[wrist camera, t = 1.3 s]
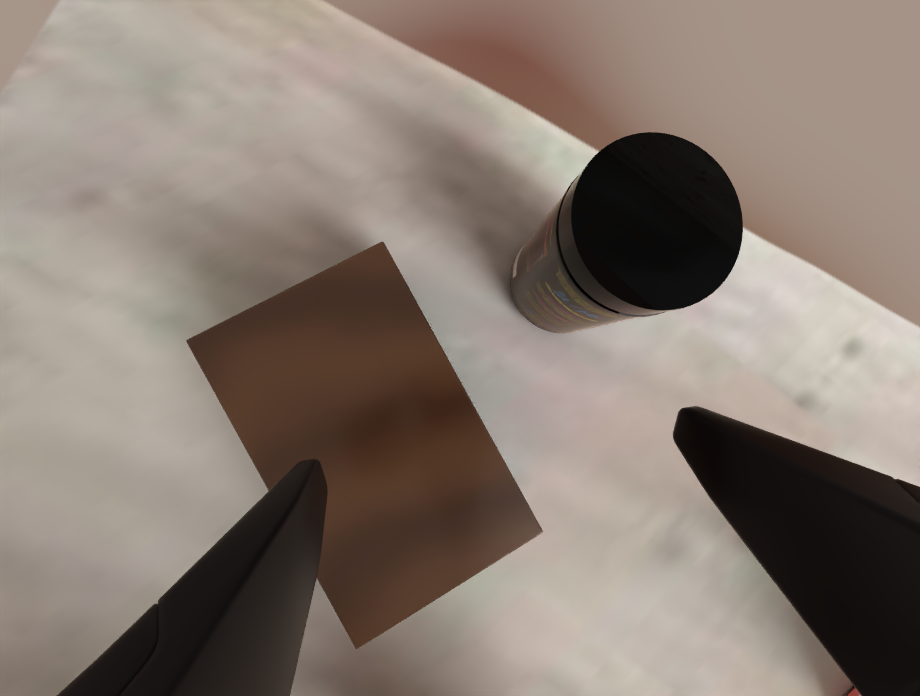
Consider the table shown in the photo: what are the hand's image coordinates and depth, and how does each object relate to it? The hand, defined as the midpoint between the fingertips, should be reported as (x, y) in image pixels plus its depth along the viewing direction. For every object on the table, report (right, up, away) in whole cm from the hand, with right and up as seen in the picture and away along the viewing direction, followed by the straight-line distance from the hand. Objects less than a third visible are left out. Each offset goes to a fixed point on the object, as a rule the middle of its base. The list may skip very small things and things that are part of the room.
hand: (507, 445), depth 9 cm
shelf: (-6, -2, +13) cm, 15 cm away
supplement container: (+5, +7, +15) cm, 17 cm away
